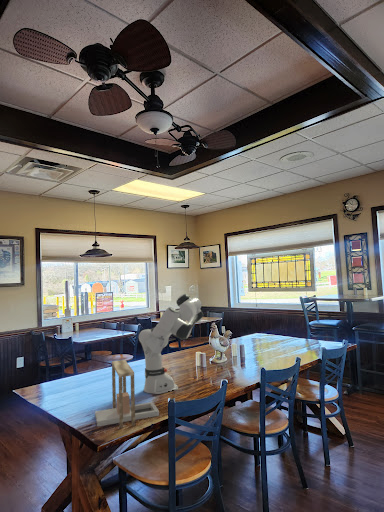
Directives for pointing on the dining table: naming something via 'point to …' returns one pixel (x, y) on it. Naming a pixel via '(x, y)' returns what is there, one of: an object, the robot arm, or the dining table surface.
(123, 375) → the arch
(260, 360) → the dining table surface
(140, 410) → the tray
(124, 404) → the block
